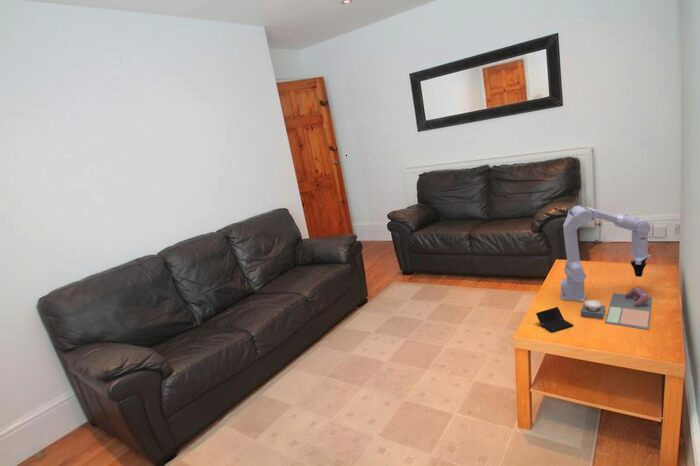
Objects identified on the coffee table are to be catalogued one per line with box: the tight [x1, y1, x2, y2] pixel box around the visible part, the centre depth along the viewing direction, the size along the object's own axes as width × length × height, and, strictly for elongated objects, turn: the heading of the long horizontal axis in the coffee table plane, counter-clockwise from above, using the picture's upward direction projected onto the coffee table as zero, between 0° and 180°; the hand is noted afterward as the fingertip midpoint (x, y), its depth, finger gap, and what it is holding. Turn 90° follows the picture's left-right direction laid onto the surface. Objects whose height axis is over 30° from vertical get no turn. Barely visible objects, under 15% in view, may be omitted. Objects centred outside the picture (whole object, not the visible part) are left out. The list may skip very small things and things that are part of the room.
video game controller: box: [625, 287, 650, 307], centre depth 168 cm, size 10×5×7 cm, turn 168°
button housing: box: [580, 302, 606, 320], centre depth 166 cm, size 8×8×2 cm
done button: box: [584, 299, 602, 311], centre depth 165 cm, size 6×6×4 cm
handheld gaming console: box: [535, 306, 574, 334], centre depth 163 cm, size 12×7×10 cm
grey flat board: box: [604, 292, 653, 331], centre depth 164 cm, size 14×30×1 cm, turn 141°
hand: (639, 273), depth 174 cm, fingers open, 6 cm apart
